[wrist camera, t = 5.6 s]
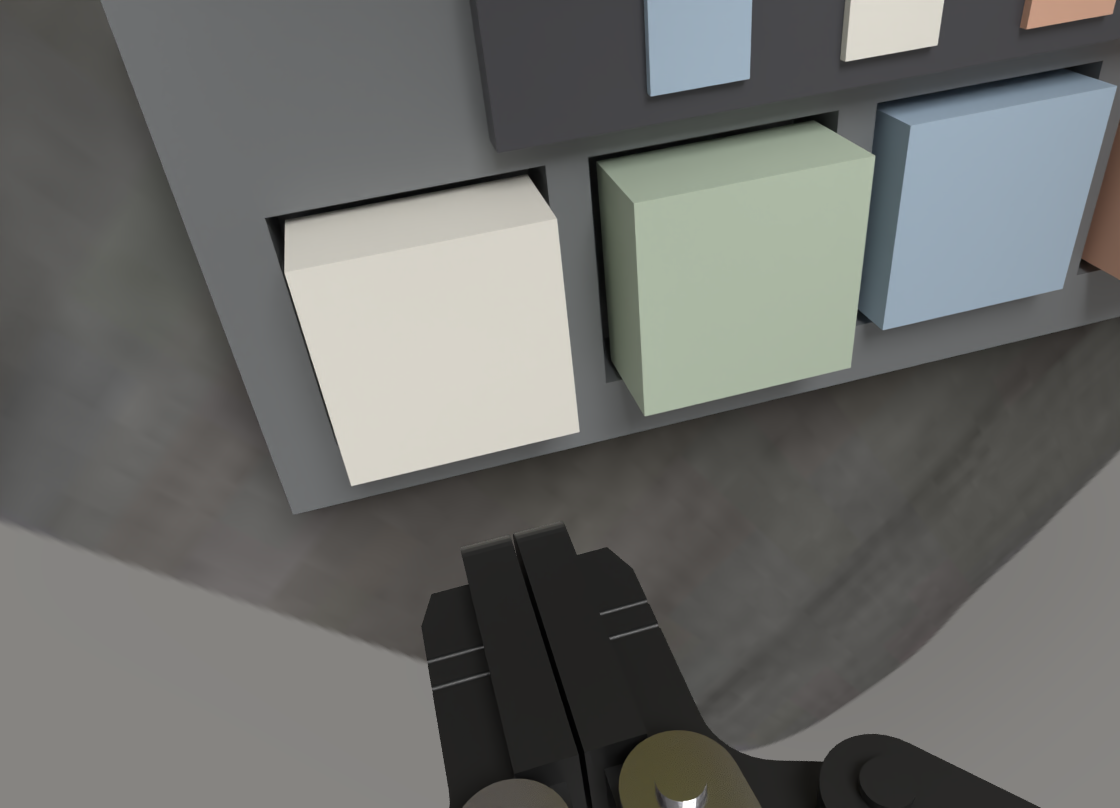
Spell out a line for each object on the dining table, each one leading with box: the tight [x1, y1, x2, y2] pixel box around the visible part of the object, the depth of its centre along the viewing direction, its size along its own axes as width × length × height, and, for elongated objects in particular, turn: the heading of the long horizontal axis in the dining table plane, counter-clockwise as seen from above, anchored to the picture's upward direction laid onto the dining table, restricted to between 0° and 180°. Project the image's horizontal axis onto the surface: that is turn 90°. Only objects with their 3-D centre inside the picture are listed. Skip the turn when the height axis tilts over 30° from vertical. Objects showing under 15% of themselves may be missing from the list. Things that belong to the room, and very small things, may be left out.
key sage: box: [596, 120, 875, 416], centre depth 19 cm, size 5×5×2 cm
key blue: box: [858, 68, 1117, 330], centre depth 21 cm, size 5×5×2 cm
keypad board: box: [100, 0, 1120, 515], centre depth 20 cm, size 12×28×4 cm, turn 96°
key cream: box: [284, 174, 580, 486], centre depth 18 cm, size 5×5×2 cm
